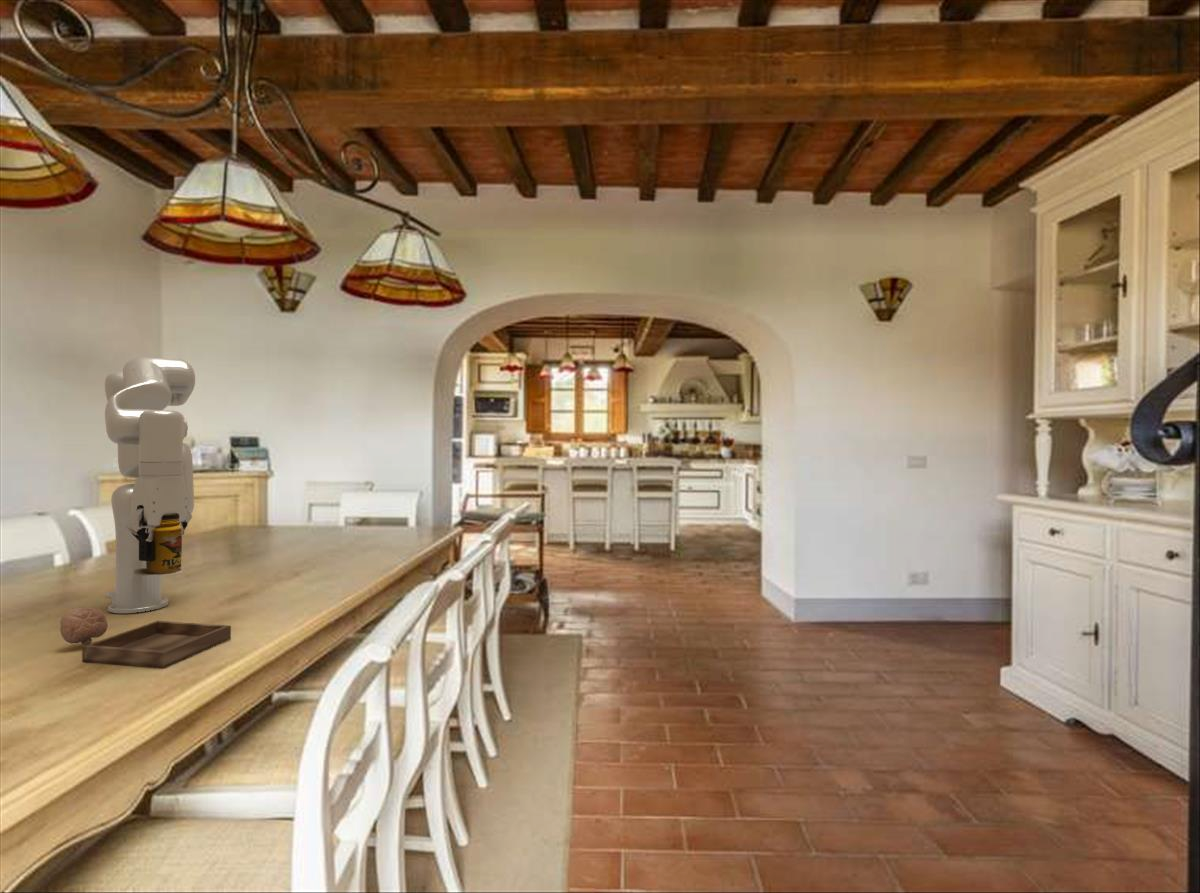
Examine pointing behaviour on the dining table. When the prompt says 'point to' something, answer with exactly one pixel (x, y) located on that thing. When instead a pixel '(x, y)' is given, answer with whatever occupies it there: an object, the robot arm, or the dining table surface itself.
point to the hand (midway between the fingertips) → (160, 556)
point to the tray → (156, 644)
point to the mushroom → (83, 625)
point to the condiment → (165, 549)
